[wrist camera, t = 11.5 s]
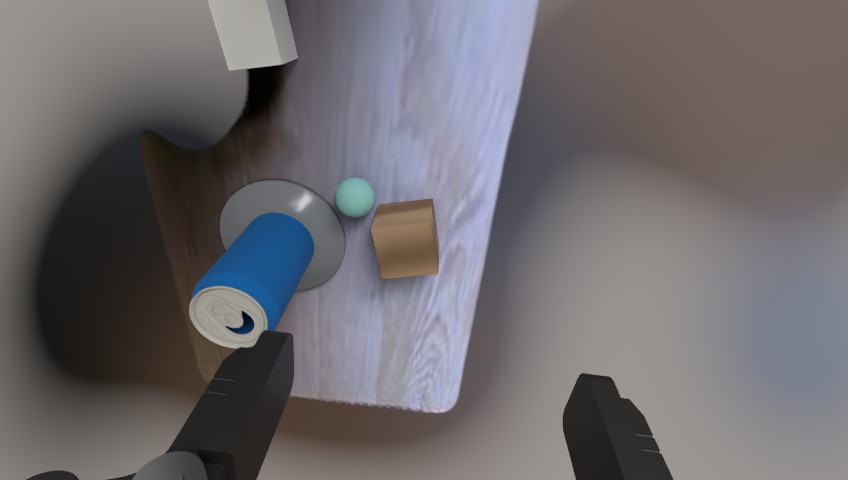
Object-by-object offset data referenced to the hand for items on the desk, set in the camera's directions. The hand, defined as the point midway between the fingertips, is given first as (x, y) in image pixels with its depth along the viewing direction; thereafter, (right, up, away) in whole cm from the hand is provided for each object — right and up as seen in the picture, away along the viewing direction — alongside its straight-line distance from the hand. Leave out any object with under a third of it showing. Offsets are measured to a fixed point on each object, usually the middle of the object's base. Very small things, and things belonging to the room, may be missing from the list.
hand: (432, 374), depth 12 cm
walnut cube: (-2, +5, +29) cm, 30 cm away
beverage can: (-14, +4, +30) cm, 33 cm away
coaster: (-14, +4, +30) cm, 34 cm away
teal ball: (-6, +7, +26) cm, 28 cm away
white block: (-12, +21, +21) cm, 32 cm away
